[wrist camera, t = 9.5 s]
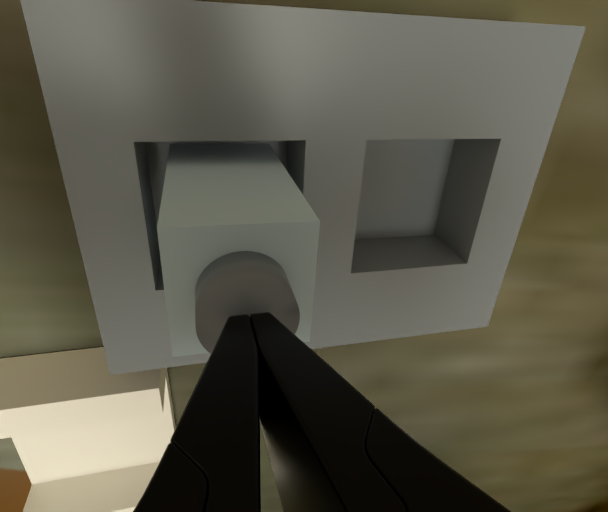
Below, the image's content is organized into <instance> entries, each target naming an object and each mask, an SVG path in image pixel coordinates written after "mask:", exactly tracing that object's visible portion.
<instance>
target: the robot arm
mask: <svg viewBox="0 0 608 512" xmlns="http://www.w3.org/2000/svg"><path fill="white" fill-rule="evenodd" d="M260 424H261V428H262V433H263V436H264V440H265V444H266V448H267V451H268V455H269V459H270V462H271V466H272V470H273V473H274V477H275V481H276V485H277V488H278V492H279V496H280V499H281V503H282V507H283V511H284V512H511V511H509V510H508V509H507V508H505V507H504V506H503V505H501V504H500V503H498V502H497V501H496V500H494V499H493V498H492V497H490V496H489V495H488V494H486V493H485V492H483V491H482V490H481V489H479V488H478V487H477V486H475V485H474V484H472V483H471V482H470V481H468V480H467V479H466V478H464V477H463V476H461V475H460V474H459V473H457V472H456V471H455V470H453V469H452V468H450V467H449V466H448V465H446V464H445V463H444V462H442V461H441V460H440V459H438V458H437V457H436V456H434V455H433V454H432V453H431V452H429V451H428V450H427V449H425V448H424V447H423V446H421V445H420V444H419V443H417V442H416V441H415V440H414V439H412V438H411V437H410V436H409V435H408V434H407V433H405V432H404V431H403V430H402V429H401V428H399V427H398V426H397V425H396V424H395V423H394V422H392V421H391V420H390V419H389V418H388V417H387V416H386V415H385V414H383V413H382V412H381V411H380V410H379V409H377V408H376V409H375V406H374V405H373V404H372V403H371V402H370V401H369V400H367V399H366V398H365V397H364V396H363V395H362V394H361V393H360V392H359V391H357V390H356V389H355V388H354V387H353V386H352V385H351V384H350V383H348V382H347V381H346V380H345V379H344V378H343V377H342V376H341V375H339V374H338V373H337V372H336V371H335V370H334V369H333V368H332V367H331V366H329V365H328V364H327V363H326V362H325V361H324V360H323V359H322V358H320V357H319V356H318V355H317V354H316V353H315V352H314V351H313V350H312V349H310V348H309V347H308V346H307V345H306V344H305V343H304V342H303V341H301V340H300V339H299V338H298V337H297V336H296V335H295V334H294V333H292V332H291V331H290V330H289V329H288V328H287V327H286V326H285V325H284V324H282V323H281V322H280V321H279V320H278V319H277V318H276V317H275V316H273V315H272V314H271V313H269V312H262V313H253V314H251V315H250V317H249V315H247V314H243V315H233V316H230V317H228V319H227V321H226V323H225V325H224V327H223V329H222V331H221V334H220V336H219V338H218V340H217V342H216V344H215V346H214V348H213V351H212V353H211V355H210V357H209V359H208V361H207V363H206V365H205V368H204V370H203V372H202V374H201V376H200V378H199V380H198V382H197V384H196V387H195V389H194V391H193V393H192V395H191V397H190V399H189V401H188V404H187V406H186V408H185V410H184V412H183V414H182V416H181V418H180V421H179V423H178V425H177V427H176V429H175V431H174V433H173V435H172V437H171V440H170V443H169V444H168V445H167V448H166V450H165V452H164V454H163V456H162V458H161V460H160V462H159V464H158V466H157V468H156V470H155V472H154V474H153V476H152V478H151V480H150V482H149V484H148V486H147V488H146V490H145V492H144V494H143V495H142V497H141V499H140V500H139V502H138V504H137V506H136V507H135V509H134V511H133V512H261V501H260Z"/></svg>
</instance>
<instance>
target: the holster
mask: <svg viewBox="0 0 608 512" xmlns="http://www.w3.org/2000/svg"><path fill="white" fill-rule="evenodd" d="M175 429H176V425H175V418H174V411H173V404H172V398H171V391H170V384H169V378H168V371H167V368H160V369H152V370H145V371H137V372H129V373H121V374H113V375H110V371H109V367H108V363H107V359H106V355H105V351H104V347H98V348H89V349H80V350H71V351H63V352H54V353H45V354H36V355H27V356H18V357H10V358H1V359H0V439H2V438H8V437H12V440H13V442H14V444H15V447H16V449H17V451H18V453H19V456H20V458H21V460H22V463H23V465H24V467H25V469H26V472H27V474H28V476H29V478H30V481H31V483H32V486H31V489H30V492H29V495H28V498H27V501H26V504H25V507H24V510H23V512H133V511H134V509H135V507H136V506H137V504H138V502H139V500H140V499H141V497H142V495H143V494H144V492H145V490H146V488H147V486H148V484H149V482H150V480H151V478H152V476H153V474H154V472H155V470H156V468H157V466H158V464H159V462H160V460H161V458H162V456H163V454H164V452H165V450H166V448H167V445H168V444H169V443H170V440H171V437H172V435H173V433H174V431H175Z"/></svg>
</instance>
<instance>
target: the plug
mask: <svg viewBox="0 0 608 512" xmlns="http://www.w3.org/2000/svg"><path fill="white" fill-rule="evenodd" d="M319 229H320V220H319V219H318V217H317V216H316V214H315V213H314V211H313V210H312V208H311V206H310V205H309V203H308V202H307V200H306V199H305V197H304V196H303V194H302V193H301V191H300V190H299V188H298V187H297V185H296V184H295V182H294V181H293V179H292V178H291V176H290V175H289V173H288V172H287V170H286V169H285V167H284V166H283V164H282V163H281V161H280V160H279V158H278V157H277V155H276V154H275V152H274V151H273V149H272V148H271V146H270V145H269V144H170V148H169V155H168V161H167V167H166V173H165V180H164V186H163V192H162V199H161V205H160V211H159V218H158V224H157V233H158V242H159V250H160V259H161V267H162V275H163V284H164V292H165V300H166V309H167V317H168V325H169V334H170V342H171V351H172V357H178V356H187V355H196V354H205V353H210V354H211V353H212V351H213V348H214V346H215V344H216V342H217V340H218V338H219V336H220V334H221V331H222V329H223V327H224V325H225V323H226V321H227V319H228V317H230V316H233V315H243V314H247V315H249V317H250V315H251V314H253V313H262V312H269V313H271V314H272V315H273V316H275V317H276V318H277V319H278V320H279V321H280V322H281V323H282V324H284V325H285V326H286V327H287V328H288V329H289V330H290V331H291V332H292V333H294V334H295V335H296V336H297V337H298V338H299V339H300V340H301V341H303V342H310V332H311V321H312V309H313V298H314V286H315V275H316V263H317V252H318V240H319Z"/></svg>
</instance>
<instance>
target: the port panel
mask: <svg viewBox="0 0 608 512" xmlns="http://www.w3.org/2000/svg"><path fill="white" fill-rule="evenodd" d="M20 1H21V5H22V9H23V14H24V18H25V22H26V26H27V30H28V34H29V39H30V43H31V47H32V51H33V55H34V59H35V63H36V68H37V72H38V76H39V80H40V84H41V88H42V93H43V97H44V101H45V105H46V109H47V113H48V118H49V122H50V126H51V130H52V134H53V138H54V143H55V147H56V151H57V155H58V159H59V163H60V168H61V172H62V176H63V180H64V184H65V188H66V192H67V197H68V201H69V205H70V209H71V213H72V217H73V222H74V226H75V230H76V234H77V238H78V242H79V247H80V251H81V255H82V259H83V263H84V267H85V272H86V276H87V280H88V284H89V288H90V292H91V297H92V301H93V305H94V309H95V313H96V317H97V321H98V326H99V330H100V334H101V338H102V342H103V346H104V351H105V355H106V359H107V363H108V367H109V371H110V375H113V374H121V373H129V372H137V371H145V370H152V369H160V368H168V367H176V366H184V365H191V364H199V363H207V361H208V359H209V357H210V355H211V354H210V353H205V354H196V355H187V356H178V357H172V351H171V342H170V334H169V325H168V317H167V309H166V300H165V292H164V284H163V275H162V267H161V259H160V250H159V242H158V233H157V224H158V218H159V211H160V205H161V199H162V192H163V186H164V180H165V173H166V167H167V161H168V155H169V148H170V144H269V145H270V146H271V148H272V149H273V151H274V152H275V154H276V155H277V157H278V158H279V160H280V161H281V163H282V164H283V166H284V167H285V169H286V170H287V172H288V173H289V175H290V176H291V178H292V179H293V181H294V182H295V184H296V185H297V187H298V188H299V190H300V191H301V193H302V194H303V196H304V197H305V199H306V200H307V202H308V203H309V205H310V206H311V208H312V210H313V211H314V213H315V214H316V216H317V217H318V219H319V220H320V229H319V240H318V252H317V263H316V275H315V286H314V298H313V309H312V321H311V332H310V342H304V343H305V344H306V345H307V346H308V347H309V348H310V349H316V348H324V347H332V346H340V345H347V344H355V343H363V342H371V341H378V340H386V339H394V338H402V337H410V336H417V335H425V334H433V333H441V332H449V331H456V330H464V329H472V328H480V327H488V324H489V321H490V318H491V315H492V312H493V308H494V305H495V302H496V299H497V296H498V293H499V290H500V287H501V284H502V281H503V278H504V275H505V272H506V269H507V266H508V263H509V260H510V257H511V254H512V251H513V248H514V244H515V241H516V238H517V235H518V232H519V229H520V226H521V223H522V220H523V217H524V214H525V211H526V208H527V205H528V202H529V199H530V196H531V193H532V190H533V187H534V184H535V180H536V177H537V174H538V171H539V168H540V165H541V162H542V159H543V156H544V153H545V150H546V147H547V144H548V141H549V138H550V135H551V132H552V129H553V126H554V123H555V120H556V117H557V113H558V110H559V107H560V104H561V101H562V98H563V95H564V92H565V89H566V86H567V83H568V80H569V77H570V74H571V71H572V68H573V65H574V62H575V59H576V56H577V53H578V49H579V46H580V43H581V40H582V37H583V34H584V31H585V28H586V27H584V26H569V25H554V24H539V23H524V22H509V21H494V20H479V19H464V18H449V17H434V16H419V15H404V14H388V13H373V12H358V11H343V10H328V9H313V8H298V7H283V6H268V5H253V4H238V3H223V2H208V1H193V0H20Z"/></svg>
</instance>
